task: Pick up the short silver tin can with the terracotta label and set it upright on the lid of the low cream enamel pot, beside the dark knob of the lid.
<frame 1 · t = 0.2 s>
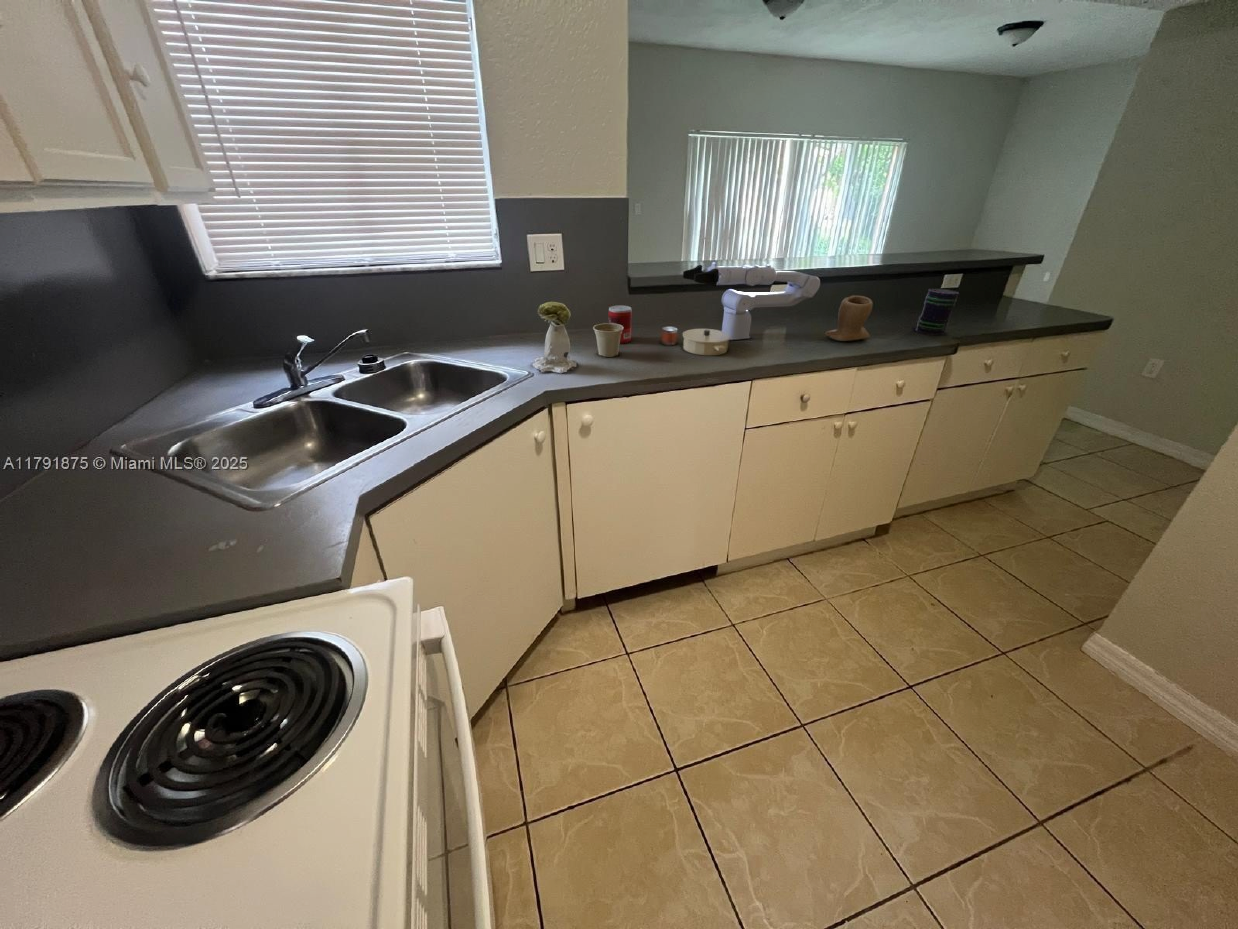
hand: (689, 276, 157), 21 cm above the worktop, tool horizontal, fingers open, 7 cm apart
brown clay vase: (848, 340, 174), on the worktop
mossy mushroom figurine: (555, 367, 144), on the worktop
tin can: (668, 343, 166), on the worktop
pot: (704, 348, 162), on the worktop
canned food: (619, 341, 168), on the worktop
flower pot: (608, 354, 155), on the worktop
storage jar: (929, 332, 186), on the worktop
pot lid: (706, 336, 160), point 4 cm above the worktop, touching pot
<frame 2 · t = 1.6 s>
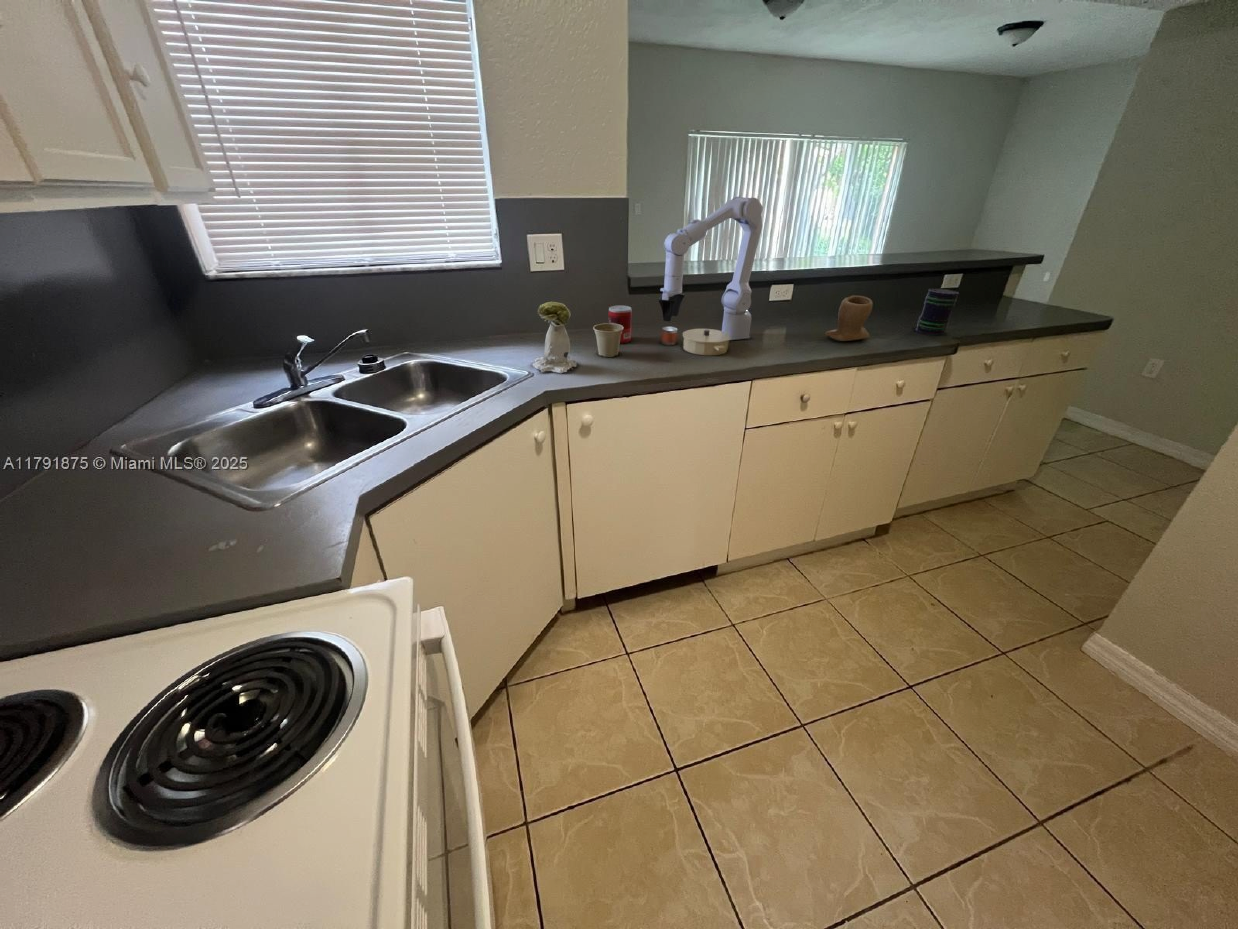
hand: (670, 318, 162), 8 cm above the worktop, tool pointing down, fingers open, 7 cm apart
nothing on the worktop moved.
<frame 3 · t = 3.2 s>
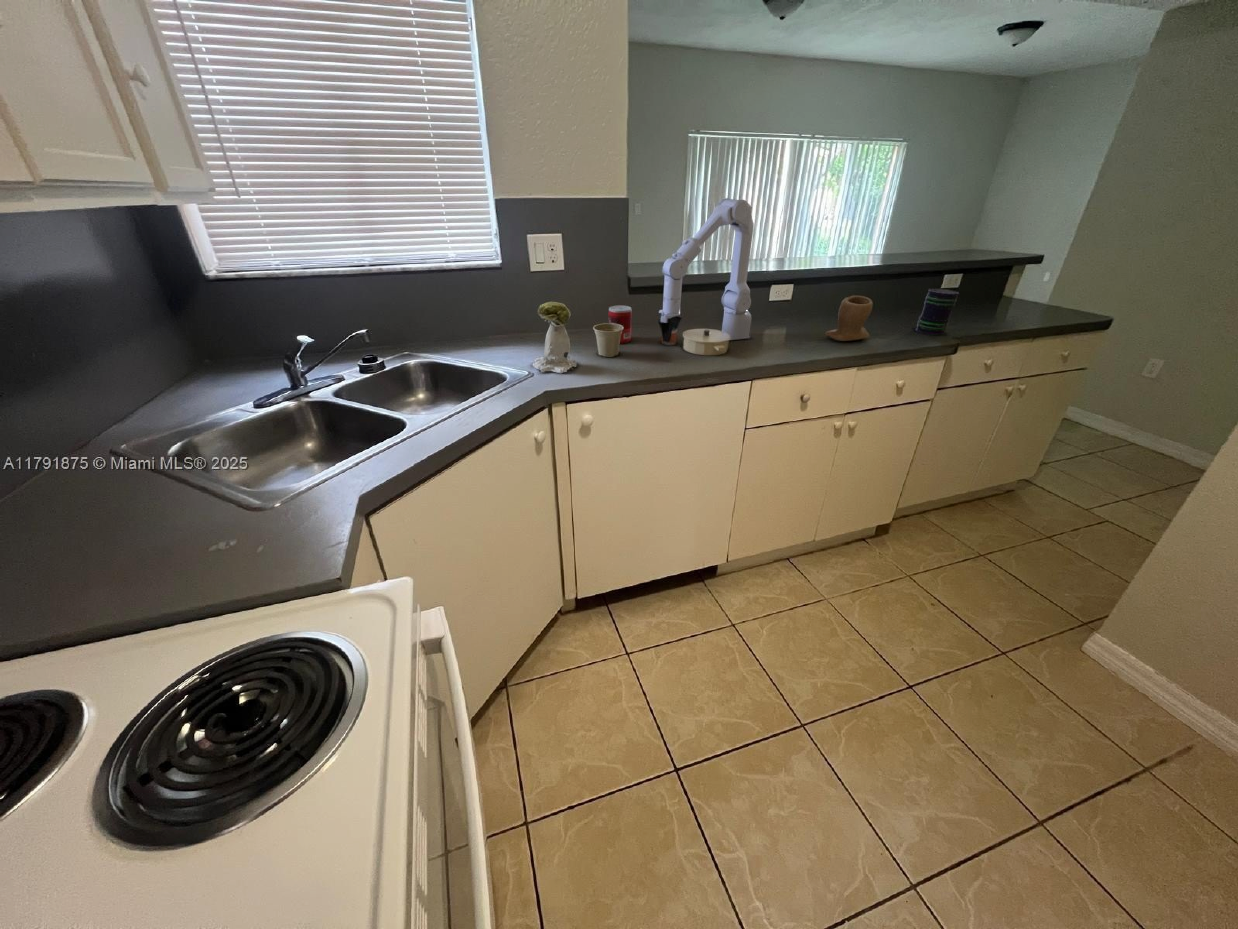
hand: (669, 339, 165), 1 cm above the worktop, tool pointing down, fingers closed on tin can, 5 cm apart
tin can: (668, 343, 166), on the worktop, touching gripper
everything else where it was.
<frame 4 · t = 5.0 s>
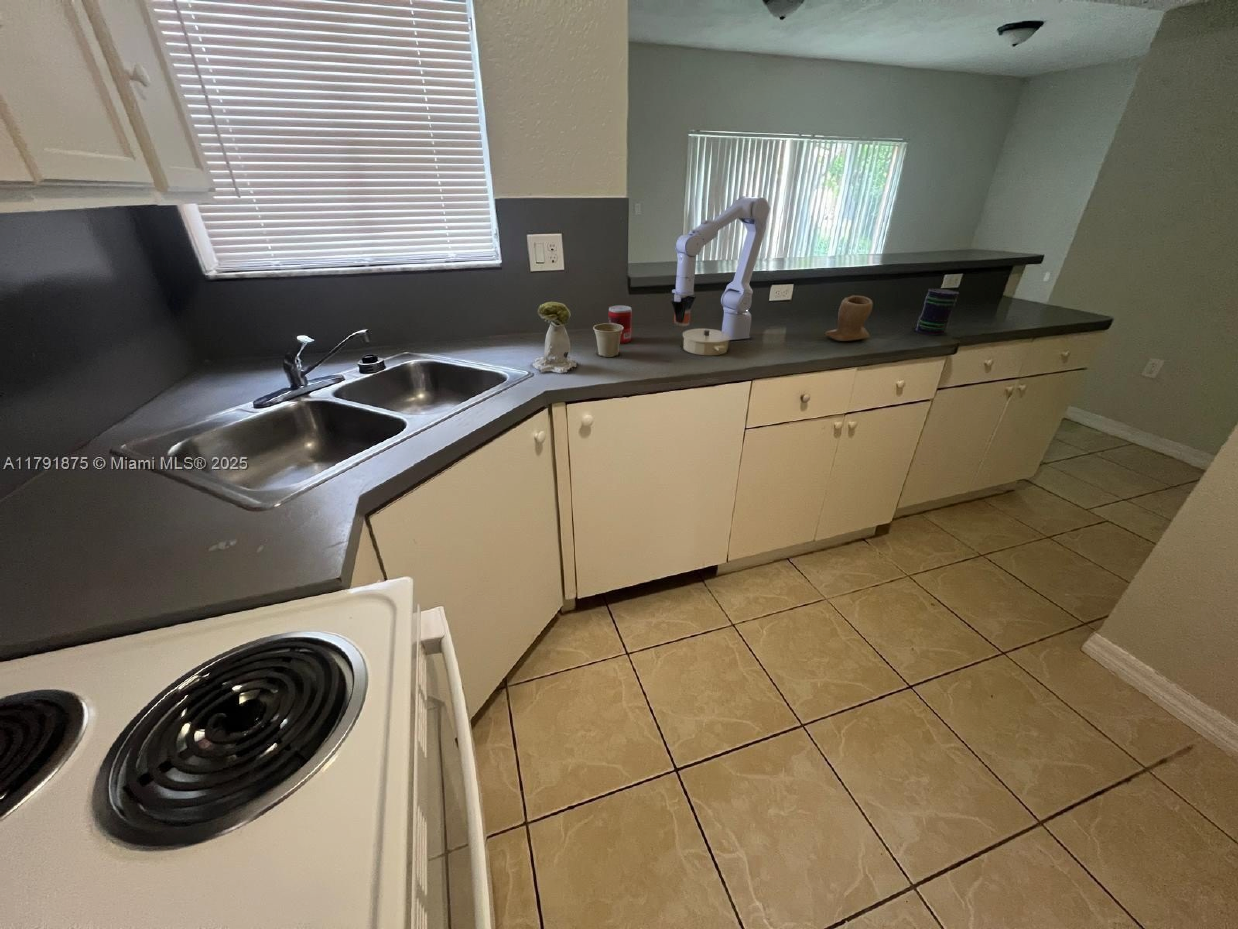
hand: (681, 319, 161), 8 cm above the worktop, tool pointing down, fingers closed on tin can, 5 cm apart
tin can: (681, 324, 161), point 7 cm above the worktop, touching gripper
everything else where it was.
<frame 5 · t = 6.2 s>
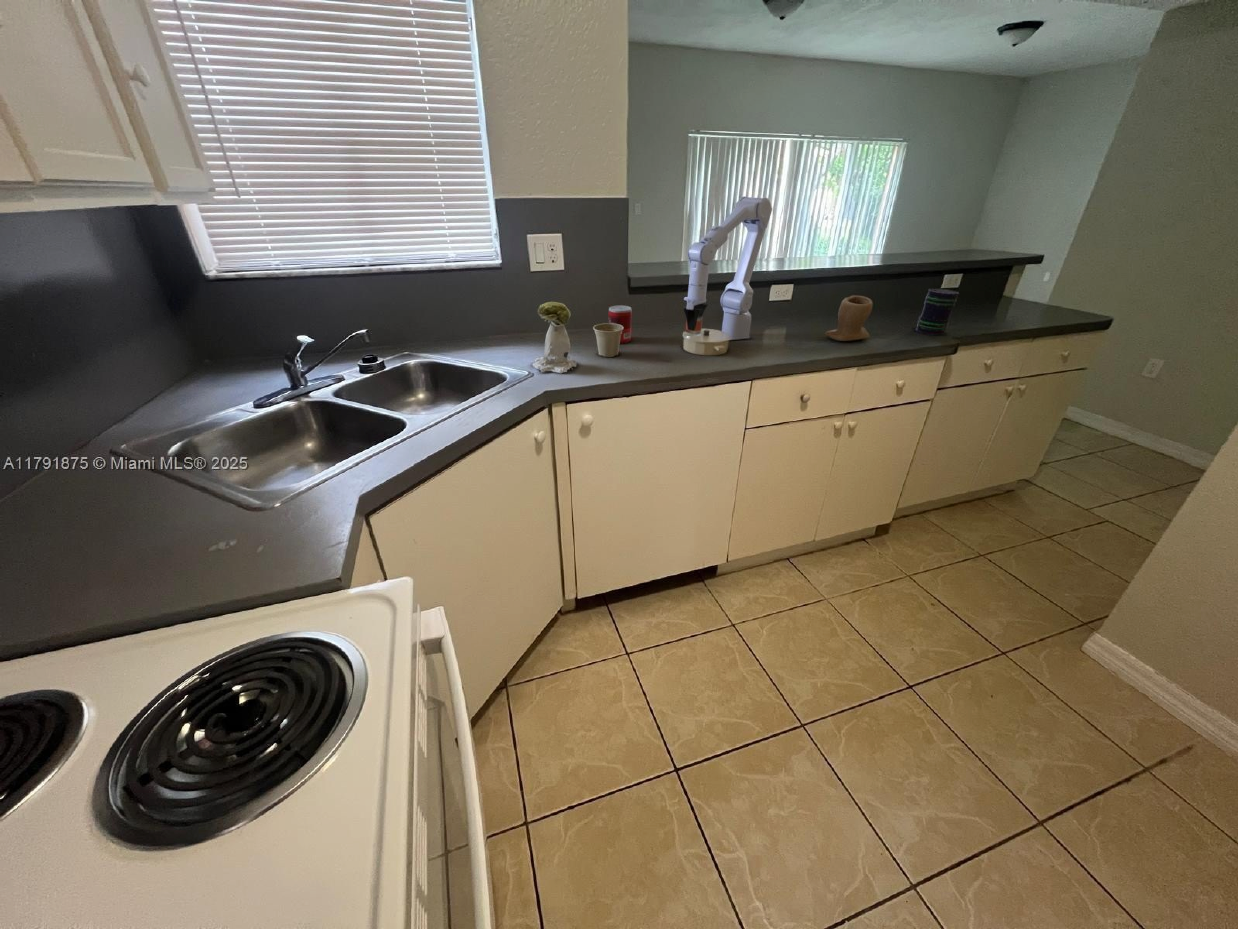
hand: (693, 327, 160), 6 cm above the worktop, tool pointing down, fingers closed on tin can, 5 cm apart
tin can: (693, 331, 161), point 5 cm above the worktop, touching gripper
everything else where it was.
when the fingers open (6 cm above the worktop, at t = 6.9 s): tin can stays where it is, resting on pot lid.
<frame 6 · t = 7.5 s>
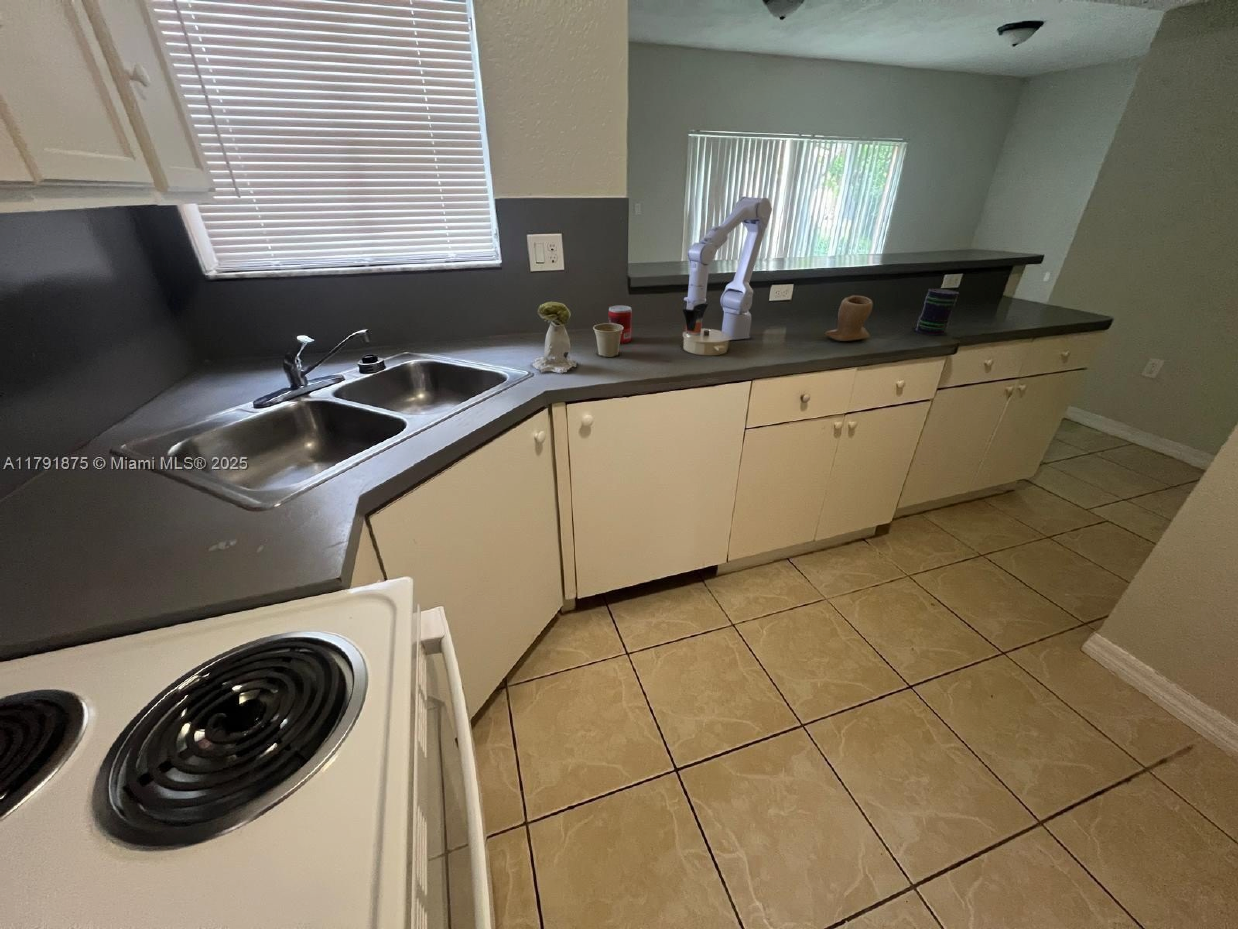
hand: (693, 327, 160), 6 cm above the worktop, tool pointing down, fingers open, 7 cm apart
tin can: (693, 333, 161), point 4 cm above the worktop, touching pot lid
pot lid: (706, 336, 160), point 4 cm above the worktop, touching pot, tin can
everything else where it was.
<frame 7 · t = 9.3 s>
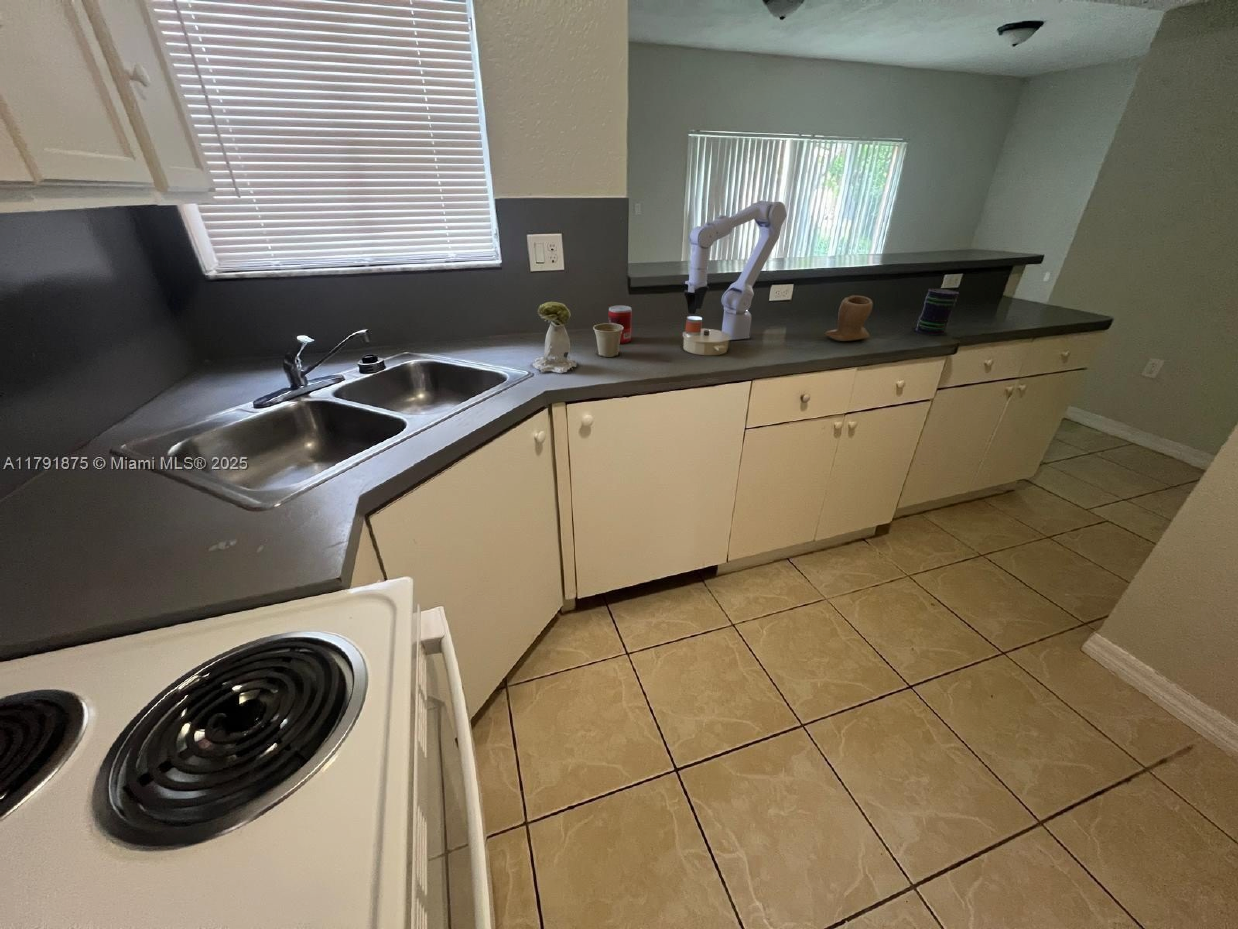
hand: (694, 310, 163), 10 cm above the worktop, tool pointing down, fingers open, 7 cm apart
nothing on the worktop moved.
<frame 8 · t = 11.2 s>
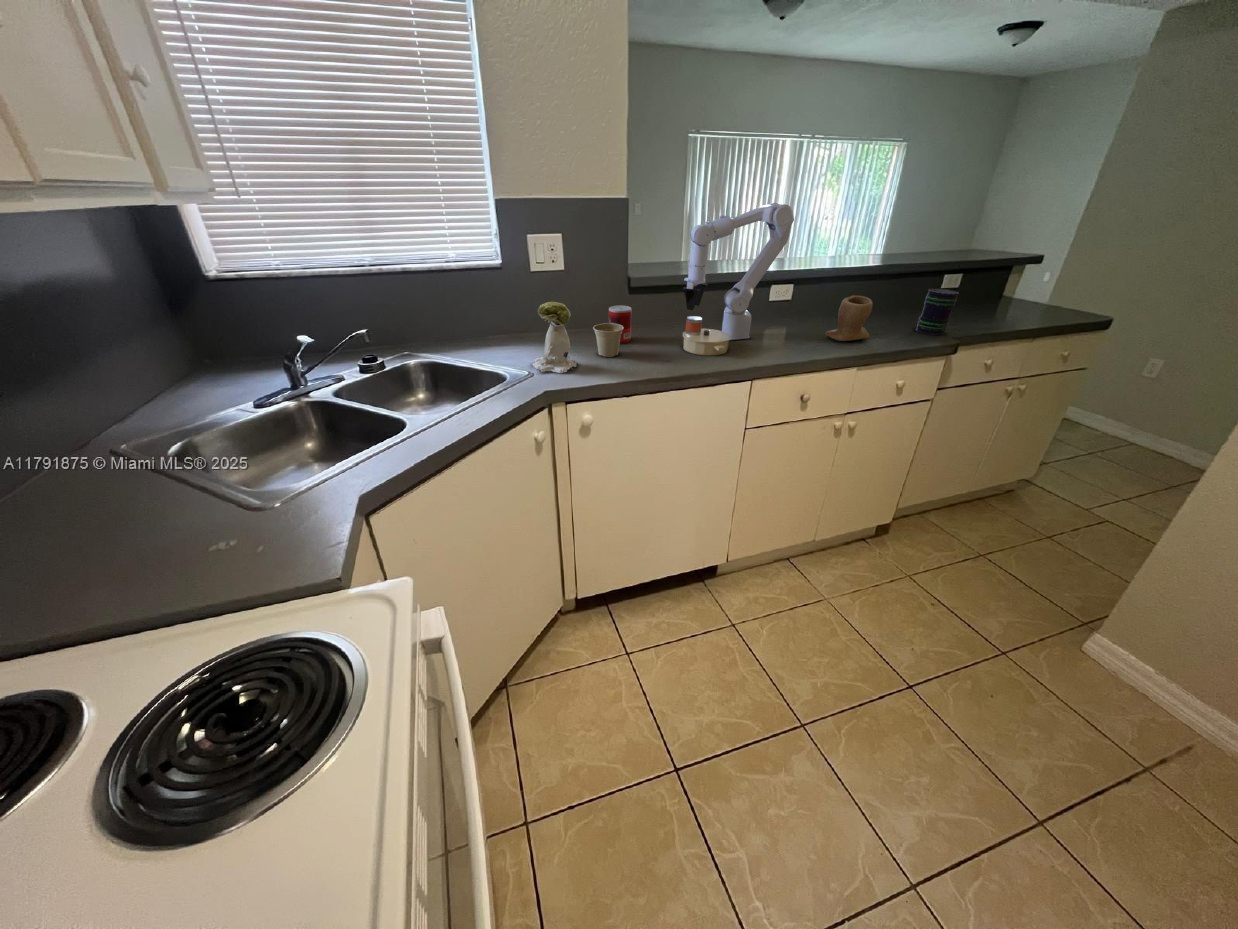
hand: (693, 307, 168), 10 cm above the worktop, tool pointing down, fingers open, 7 cm apart
nothing on the worktop moved.
at the end: tin can 0.1 cm from the target spot on the pot, point 4.5 cm above the pot's base; tin can tilted 0°; pot lid 0.0 cm off-centre on the pot, point 4.0 cm above the pot's base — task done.
